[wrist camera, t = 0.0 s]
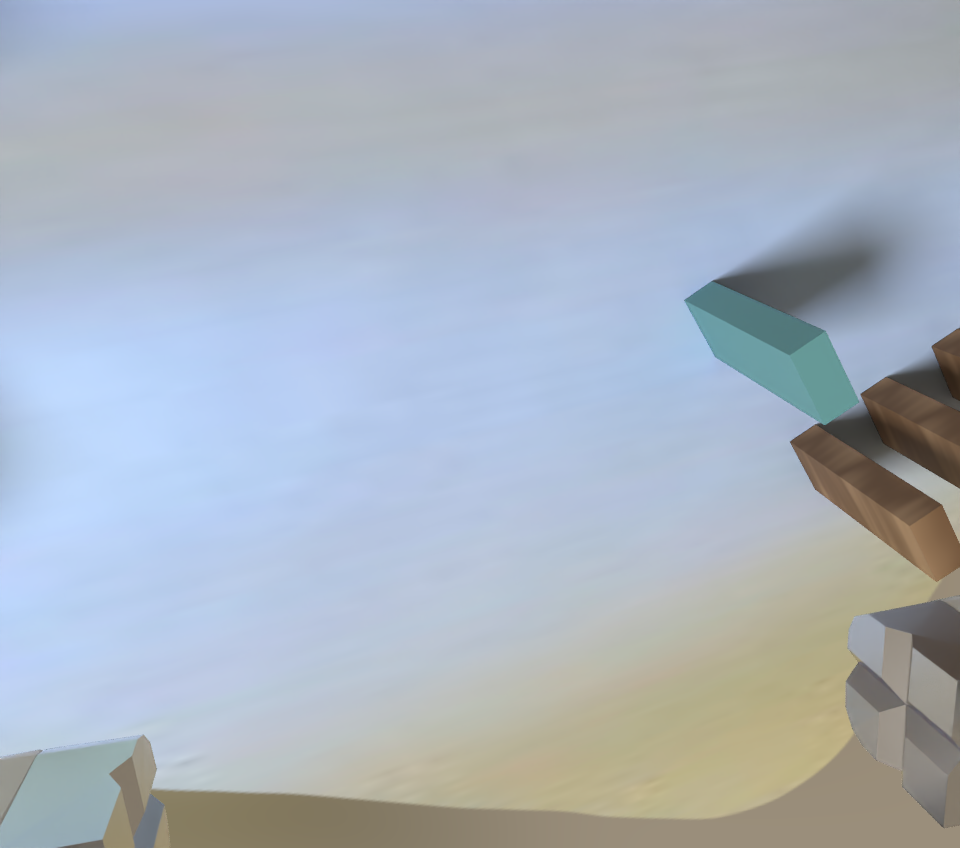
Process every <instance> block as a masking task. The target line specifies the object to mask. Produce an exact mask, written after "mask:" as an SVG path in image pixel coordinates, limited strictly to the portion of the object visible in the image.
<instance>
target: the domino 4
mask: <svg viewBox="0 0 960 848" xmlns="http://www.w3.org/2000/svg"><path fill="white" fill-rule="evenodd" d="M932 349H933V351H934V353H935V356H936V358H937V361H938V363H939V365H940V368H941V370H942V373H943V375H944V377H945V380H946V382H947V385H948V387H949V389H950V392H951V394H952V397H953V398H955V399H957V400H960V329H957V330H955V331H954V332H952V333H951V334H949V335H948V336H946V337H945V338H943V339H942V340H940V341H939V342H937V343H936V344H934V345H933V346H932Z"/></svg>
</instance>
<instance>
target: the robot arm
mask: <svg viewBox="0 0 960 848" xmlns="http://www.w3.org/2000/svg"><path fill="white" fill-rule="evenodd" d="M848 650H849V651H850V652H851V654H852V655H853V656H854V657H855V659H856V660H857V661H858V664H857V665H856V667H855V668H854V670H853V671H852V673H851V674H850V676H849V677H848V679H847V680H846V710H847V713H848V716H849V719H850V723H851V726H852V729H853V731H854V733H855V734H856V736H857V738H858V739H859V741H860V743H861V744H862V746H863V747H864V748H865V749H866V750H867V751H868V752H869V753H870V754H871V755H872V756H873V758H874V759H875V760H876V761H879V762H881V763H883V764H886V765H888V766H890V767H893V768H895V769H898V770H900V771H901V774H902V787H903V788H904V789H905V790H906V791H907V792H908V793H909V794H910V795H911V796H912V797H913V798H914V799H915V800H916V801H917V802H918V803H919V804H920V805H921V806H922V807H923V808H924V809H925V810H926V811H927V812H928V813H929V814H930V815H931V816H932V817H933V818H934V819H935V820H936V821H937V822H938V823H939V824H940V825H941V826H942V827H943V828H948V827H953V826H959V825H960V595H959V596H953V597H949V598H944V599H939V600H934V601H931V602H927V603H922V604H916V605H911V606H906V607H901V608H896V609H891V610H885V611H880V612H875V613H870V614H865V615H860V616H855V617H854V619H853V621H852V623H851V626H850V628H849V635H848ZM156 770H157V768H156V764H155V760H154V756H153V752H152V748H151V744H150V742H149V740H148V739H147V738H146V737H145V736H144V735H138V736H131V737H124V738H118V739H111V740H104V741H97V742H91V743H84V744H77V745H70V746H64V747H57V748H50V749H46V750H44V751H42V750H35V751H29V752H24V753H18V754H13V755H7V756H1V757H0V848H170V839H169V828H168V821H167V816H166V811H165V806H164V804H163V803H161V802H160V801H159V800H158V799H156V798H155V797H154V796H153V795H151V794H150V791H151V788H152V784H153V781H154V777H155V773H156Z"/></svg>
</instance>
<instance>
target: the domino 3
mask: <svg viewBox="0 0 960 848" xmlns="http://www.w3.org/2000/svg"><path fill="white" fill-rule="evenodd" d="M790 443H791V445H792V447H793V449H794V450H795V452H796V454H797V456H798V458H799V460H800V462H801V464H802V465H803V467H804V469H805V471H806V473H807V475H808V477H809V479H810V480H811V482H812V484H813V486H814V488H815V490H817V491H818V492H819V493H821V494H822V495H823V496H825V497H826V498H827V499H829V500H830V501H831V502H832V503H834V504H835V505H836V506H838V507H839V508H840V509H842V510H843V511H844V512H846V513H847V514H848V515H849V516H851V517H852V518H853V519H855V520H856V521H857V522H859V523H860V524H861V525H863V526H864V527H865V528H867V529H868V530H869V531H870V532H872V533H873V534H874V535H876V536H877V537H878V538H880V539H881V540H882V541H884V542H885V543H886V544H887V545H889V546H890V547H891V548H893V549H894V550H895V551H897V552H898V553H899V554H901V555H902V556H903V557H905V558H906V559H907V560H908V561H910V562H911V563H912V564H914V565H915V566H916V567H918V568H919V569H920V570H922V571H923V572H924V573H925V574H927V575H928V576H929V577H931V578H932V579H933V580H935V581H936V582H937V581H939V580H940V579H942V578H943V577H945V576H947V575H948V574H950V573H951V572H952V571H954V570H956V569H957V568H959V567H960V544H959V541H958V539H957V537H956V535H955V533H954V530H953V528H952V526H951V524H950V521H949V519H948V517H947V515H946V513H945V510H944V508H943V506H942V505H941V504H940V503H938V502H937V501H935V500H934V499H932V498H930V497H929V496H927V495H926V494H924V493H923V492H921V491H919V490H918V489H916V488H915V487H913V486H912V485H910V484H908V483H907V482H905V481H904V480H902V479H900V478H899V477H897V476H896V475H894V474H893V473H891V472H889V471H888V470H886V469H885V468H883V467H882V466H880V465H878V464H877V463H875V462H874V461H872V460H871V459H869V458H867V457H866V456H864V455H863V454H861V453H859V452H858V451H856V450H855V449H853V448H852V447H850V446H848V445H847V444H845V443H844V442H842V441H841V440H839V439H837V438H836V437H834V436H833V435H831V434H830V433H828V432H826V431H825V430H823V429H822V428H820V427H818V426H817V425H814V426H813V427H811V428H810V429H808V430H807V431H805V432H804V433H802V434H801V435H799V436H798V437H796V438H795V439H793V440H792V441H790Z"/></svg>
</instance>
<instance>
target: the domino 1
mask: <svg viewBox="0 0 960 848" xmlns="http://www.w3.org/2000/svg"><path fill="white" fill-rule="evenodd" d="M684 301H685V303H686V304H687V306H688V308H689V310H690V312H691V313H692V315H693V317H694V319H695V321H696V323H697V324H698V326H699V328H700V330H701V332H702V333H703V335H704V337H705V339H706V341H707V343H708V344H709V346H710V348H711V350H712V352H713V353H714V355H715V357H716V358H718V359H719V360H721V361H722V362H724V363H726V364H727V365H729V366H730V367H732V368H734V369H735V370H737V371H738V372H740V373H742V374H743V375H745V376H746V377H748V378H750V379H751V380H753V381H754V382H756V383H758V384H759V385H761V386H762V387H764V388H766V389H767V390H769V391H770V392H772V393H774V394H775V395H777V396H778V397H780V398H782V399H783V400H785V401H787V402H788V403H790V404H791V405H793V406H795V407H796V408H798V409H799V410H801V411H803V412H804V413H806V414H807V415H809V416H811V417H812V418H814V419H815V420H817V421H819V422H820V423H822V424H823V425H826V424H828V423H829V422H831V421H832V420H834V419H835V418H837V417H838V416H840V415H841V414H842V413H844V412H845V411H847V410H848V409H850V408H851V407H853V406H854V405H856V404H857V403H859V400H858V398H857V396H856V394H855V392H854V390H853V388H852V386H851V384H850V381H849V379H848V377H847V375H846V373H845V371H844V369H843V367H842V365H841V362H840V360H839V358H838V356H837V354H836V352H835V350H834V348H833V346H832V344H831V341H830V339H829V337H828V335H827V333H826V331H824V330H822V329H820V328H818V327H815V326H813V325H811V324H808V323H806V322H804V321H802V320H799V319H797V318H795V317H793V316H790V315H788V314H786V313H783V312H781V311H779V310H777V309H774V308H772V307H770V306H768V305H765V304H763V303H761V302H758V301H756V300H754V299H752V298H749V297H747V296H745V295H743V294H740V293H738V292H736V291H733V290H731V289H729V288H727V287H724V286H722V285H720V284H718V283H715V282H713V281H712V282H710V283H709V284H707V285H706V286H704V287H703V288H701V289H700V290H699V291H697V292H696V293H694V294H693V295H691V296H690V297H688V298H687V299H685V300H684Z"/></svg>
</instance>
